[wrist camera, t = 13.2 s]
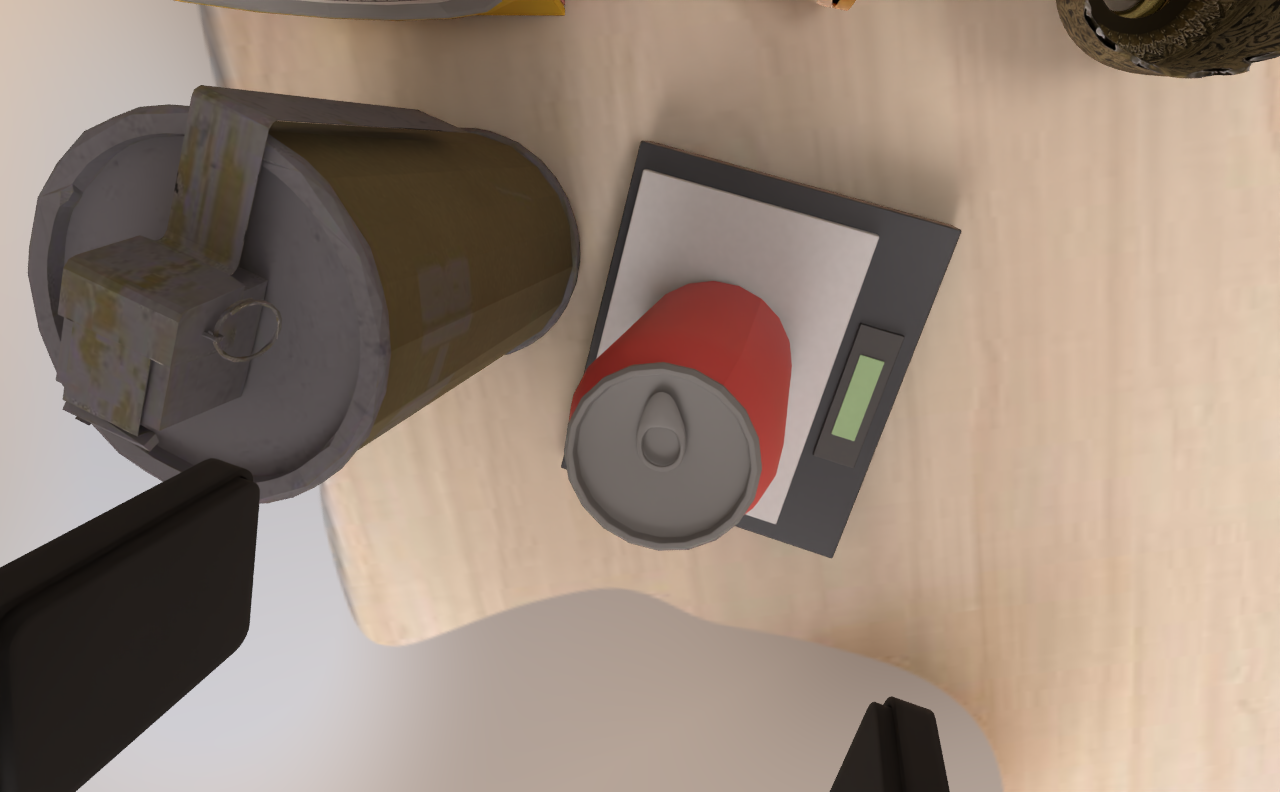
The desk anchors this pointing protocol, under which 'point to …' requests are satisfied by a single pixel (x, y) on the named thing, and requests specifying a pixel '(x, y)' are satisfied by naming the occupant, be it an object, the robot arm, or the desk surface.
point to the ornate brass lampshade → (1176, 35)
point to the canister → (287, 276)
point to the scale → (789, 309)
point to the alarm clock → (392, 8)
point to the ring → (837, 4)
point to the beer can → (682, 418)
